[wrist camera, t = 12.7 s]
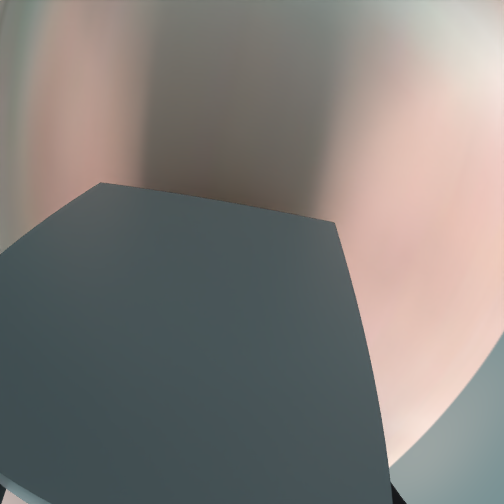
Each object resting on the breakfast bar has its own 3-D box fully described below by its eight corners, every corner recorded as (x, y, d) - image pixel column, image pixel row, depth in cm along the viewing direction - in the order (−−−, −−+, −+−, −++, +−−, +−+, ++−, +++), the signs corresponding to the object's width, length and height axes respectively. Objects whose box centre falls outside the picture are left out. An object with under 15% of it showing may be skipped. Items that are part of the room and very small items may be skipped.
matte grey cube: (282, 381, 13) (265, 576, 6) (117, 344, 14) (36, 508, 6) (334, 222, 10) (396, 555, 2) (100, 182, 10) (-110, 369, 2)
